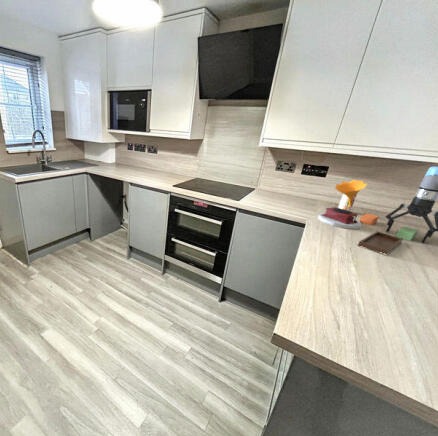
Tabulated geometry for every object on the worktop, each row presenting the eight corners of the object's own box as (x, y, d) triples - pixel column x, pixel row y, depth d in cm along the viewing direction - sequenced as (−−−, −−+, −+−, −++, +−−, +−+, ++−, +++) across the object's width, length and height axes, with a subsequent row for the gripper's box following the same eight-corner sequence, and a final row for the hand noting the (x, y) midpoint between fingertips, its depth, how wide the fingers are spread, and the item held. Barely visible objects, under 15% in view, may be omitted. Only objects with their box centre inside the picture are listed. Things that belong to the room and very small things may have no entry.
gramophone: (332, 214, 152) (346, 176, 143) (368, 227, 135) (387, 184, 125) (310, 217, 145) (323, 177, 136) (345, 230, 128) (363, 186, 118)
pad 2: (400, 233, 129) (404, 226, 128) (414, 237, 125) (418, 230, 124) (395, 236, 124) (399, 229, 123) (410, 241, 120) (413, 234, 118)
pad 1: (364, 219, 147) (367, 213, 146) (376, 222, 143) (379, 216, 142) (359, 222, 142) (361, 215, 141) (370, 225, 138) (373, 219, 136)
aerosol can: (343, 213, 156) (355, 183, 149) (334, 209, 163) (345, 181, 155) (352, 213, 157) (364, 184, 150) (343, 209, 164) (354, 181, 156)
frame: (401, 243, 117) (403, 239, 116) (385, 255, 104) (387, 250, 103) (375, 235, 125) (376, 231, 124) (357, 245, 111) (359, 241, 111)
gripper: (389, 192, 124) (372, 228, 132) (463, 207, 105) (438, 248, 113) (393, 191, 128) (376, 226, 136) (465, 205, 109) (441, 245, 117)
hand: (404, 236), depth 125 cm, fingers open, 13 cm apart
